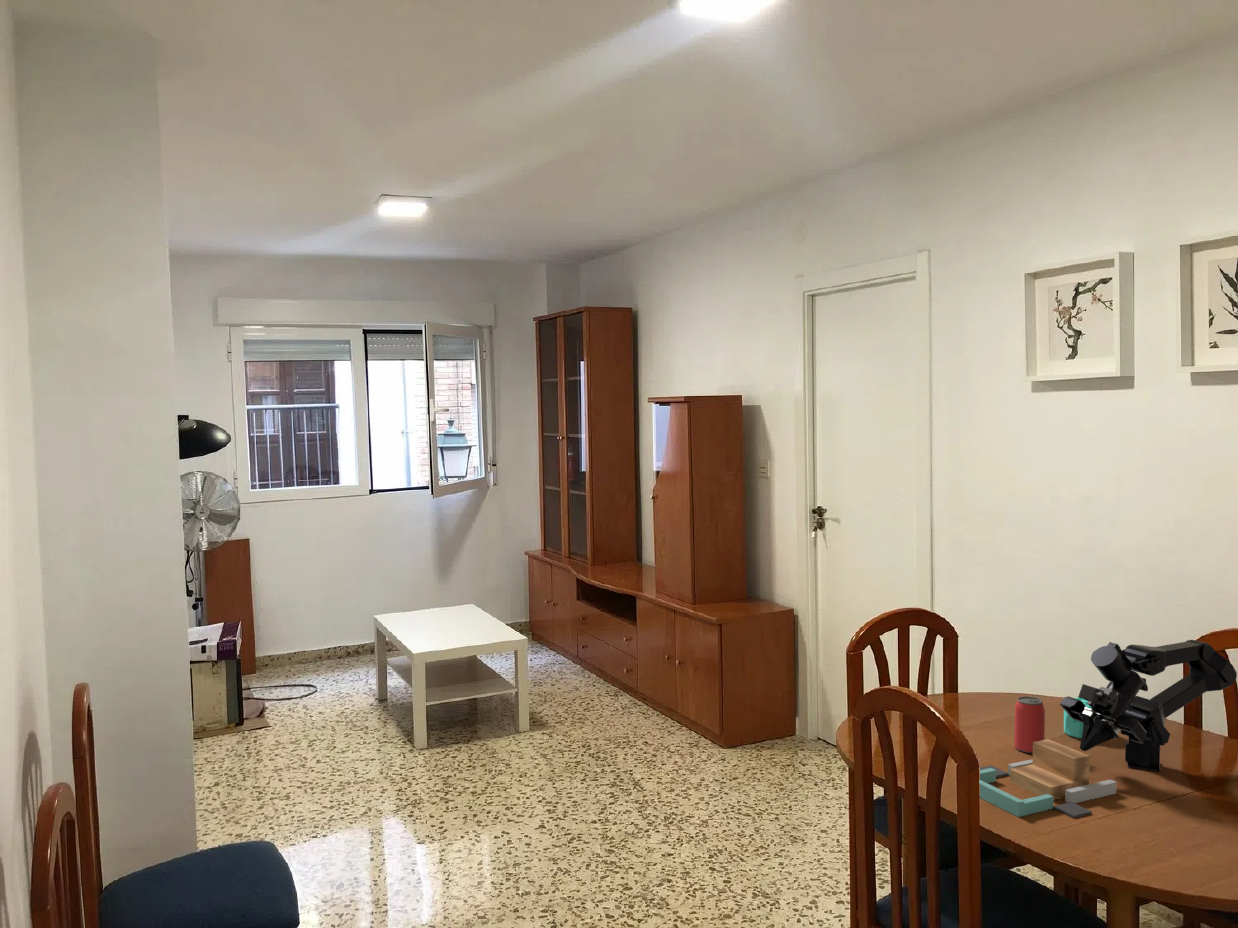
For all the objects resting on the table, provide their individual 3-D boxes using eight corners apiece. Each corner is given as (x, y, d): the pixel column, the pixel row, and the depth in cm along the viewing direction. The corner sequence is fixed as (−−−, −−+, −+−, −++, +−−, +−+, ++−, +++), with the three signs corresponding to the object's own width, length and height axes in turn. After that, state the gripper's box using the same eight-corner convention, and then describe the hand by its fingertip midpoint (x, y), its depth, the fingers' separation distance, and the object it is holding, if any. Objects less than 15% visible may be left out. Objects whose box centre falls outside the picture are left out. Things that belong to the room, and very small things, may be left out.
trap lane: (1034, 758, 226) (1034, 745, 225) (1137, 802, 201) (1137, 788, 201) (941, 777, 215) (941, 764, 214) (1037, 826, 190) (1038, 811, 190)
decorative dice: (1064, 736, 240) (1065, 705, 239) (1063, 726, 247) (1064, 695, 246) (1100, 740, 236) (1101, 708, 236) (1098, 730, 244) (1099, 699, 243)
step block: (1047, 774, 216) (1048, 739, 216) (1088, 792, 206) (1089, 755, 206) (1009, 782, 212) (1010, 746, 211) (1050, 801, 202) (1051, 763, 201)
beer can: (1047, 754, 228) (1048, 704, 227) (1017, 753, 229) (1018, 703, 228) (1040, 745, 234) (1041, 696, 233) (1011, 743, 235) (1012, 694, 234)
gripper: (1066, 661, 222) (1029, 715, 218) (1139, 682, 205) (1100, 741, 201) (1090, 690, 226) (1054, 744, 222) (1164, 714, 209) (1126, 772, 205)
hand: (1082, 749), depth 213 cm, fingers closed
